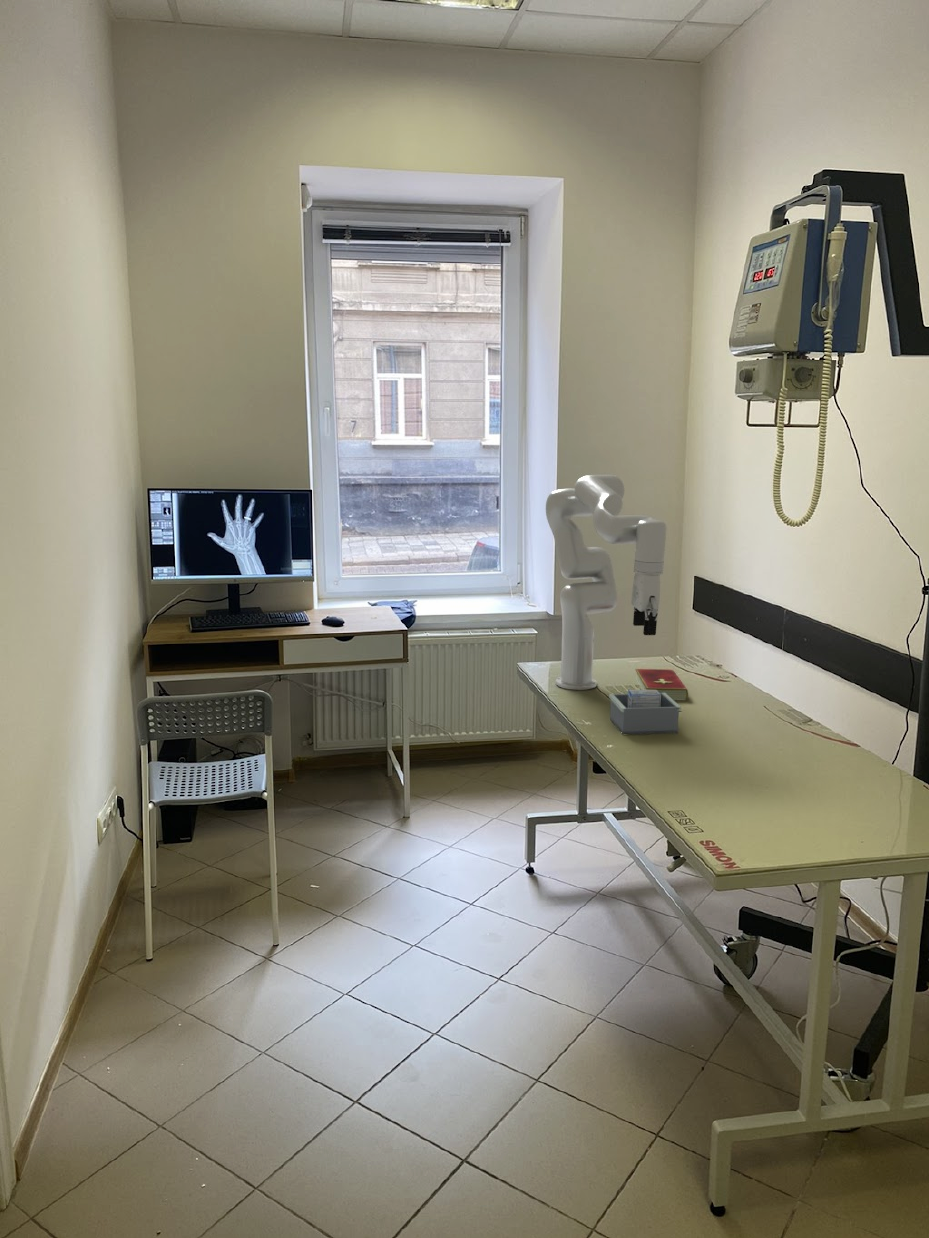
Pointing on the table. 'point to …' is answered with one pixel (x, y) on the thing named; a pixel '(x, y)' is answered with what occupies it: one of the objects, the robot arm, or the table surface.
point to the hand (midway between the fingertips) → (644, 630)
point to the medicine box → (643, 698)
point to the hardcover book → (662, 682)
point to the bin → (644, 716)
